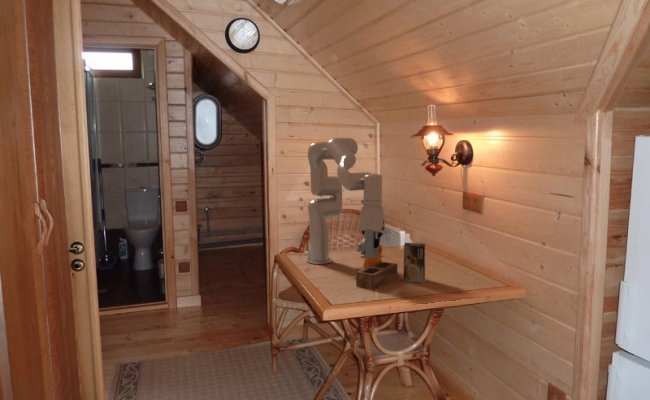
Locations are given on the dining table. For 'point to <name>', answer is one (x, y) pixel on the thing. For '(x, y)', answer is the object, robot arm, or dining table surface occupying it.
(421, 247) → the coffee box
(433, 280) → the dining table surface
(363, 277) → the wooden compartment box
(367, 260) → the orange irregular piece
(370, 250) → the blue gray rectangular block
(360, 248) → the round bodied animal figurine
